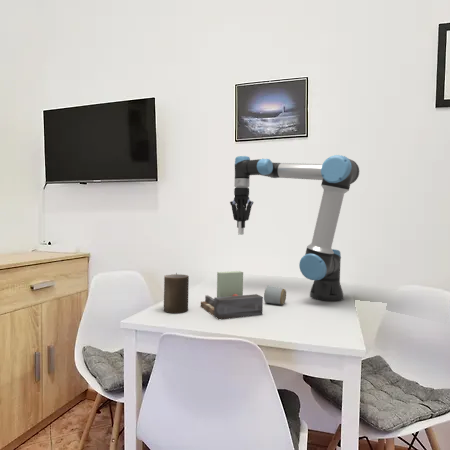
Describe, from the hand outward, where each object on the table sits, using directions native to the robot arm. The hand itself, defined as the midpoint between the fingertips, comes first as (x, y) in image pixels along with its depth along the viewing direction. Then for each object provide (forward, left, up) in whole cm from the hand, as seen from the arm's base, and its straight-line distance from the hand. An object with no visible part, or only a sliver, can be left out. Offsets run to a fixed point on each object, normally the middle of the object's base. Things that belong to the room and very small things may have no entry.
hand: (240, 234), depth 182 cm
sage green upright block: (-18, +34, -26) cm, 47 cm away
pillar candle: (-2, +48, -29) cm, 56 cm away
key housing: (-18, +34, -28) cm, 48 cm away
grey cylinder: (-27, +11, -29) cm, 41 cm away
